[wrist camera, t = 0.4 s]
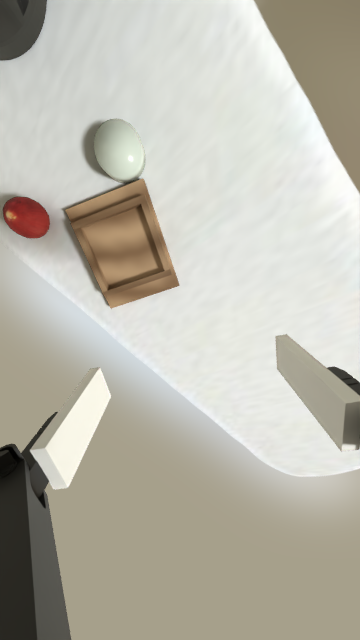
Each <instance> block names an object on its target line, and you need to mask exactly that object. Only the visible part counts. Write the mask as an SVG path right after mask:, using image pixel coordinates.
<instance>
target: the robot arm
mask: <svg viewBox="0 0 360 640" xmlns="http://www.w3.org/2000/svg"><path fill="white" fill-rule="evenodd" d="M46 3H47V0H0V60H9V59H13V58H16V57H19V56H21V55H22V54H24V53H25V52H27V51H28V50H29V49H30V48H31V47H32V45H33V44H34V43H35V41H36V40H37V38H38V36H39V34H40V32H41V29H42V26H43V23H44V19H45V13H46ZM276 356H277V369H278V371H279V372H280V373H281V375H282V376H283V377H284V378H285V380H286V381H287V382H288V384H289V385H290V386H291V387H292V389H293V390H294V391H295V393H296V394H297V395H298V396H299V398H300V399H301V400H302V402H303V403H304V404H305V405H306V407H307V408H308V409H309V411H310V412H311V413H312V414H313V416H314V417H315V418H316V420H317V421H318V422H319V423H320V425H321V426H322V427H323V429H324V430H325V431H326V432H327V434H328V435H329V436H330V438H331V439H332V440H333V441H334V443H335V444H336V445H337V447H338V448H339V449H340V450H341V452H343V451H351V450H358V449H359V448H360V382H359V381H357V380H356V379H355V378H353V377H352V376H351V375H349V374H348V373H347V372H345V371H344V370H341V369H339V368H337V367H328V368H326V367H325V366H324V365H322V364H321V363H320V362H319V361H318V360H316V359H315V358H314V357H313V356H312V355H310V354H309V353H308V352H307V351H306V350H305V349H303V348H302V347H301V346H300V345H299V344H297V343H296V342H295V341H294V340H293V339H291V338H290V337H289V336H288V335H287V334H286V335H280V336H276ZM110 398H111V395H110V392H109V389H108V387H107V384H106V382H105V379H104V376H103V374H102V372H101V369H100V367H99V368H92V369H90V370H89V371H88V373H87V374H86V375H85V377H84V378H83V379H82V381H81V382H80V383H79V385H78V386H77V387H76V389H75V390H74V392H73V393H72V394H71V395H70V397H69V398H68V400H67V401H66V402H65V404H64V405H63V406H62V408H61V409H60V410H59V412H55V413H54V414H53V415H52V416H51V417H50V418H48V419H47V421H46V422H45V423H44V425H43V426H42V428H40V430H39V431H38V432H37V434H36V435H35V436H34V437H33V439H32V440H31V441H30V443H29V444H28V445H27V446H26V448H25V449H24V450H23V452H22V453H20V451H19V450H18V448H17V446H16V445H15V444H9V445H5V446H3V447H1V448H0V640H71V636H70V630H69V624H68V618H67V612H66V606H65V600H64V594H63V588H62V582H61V576H60V570H59V564H58V558H57V552H56V546H55V540H54V534H53V528H52V522H51V515H50V509H49V504H48V498H47V494H46V492H45V490H44V489H45V488H46V486H47V484H48V482H49V483H50V484H51V486H52V488H53V489H54V490H55V489H62V488H68V487H69V485H70V483H71V480H72V478H73V476H74V474H75V472H76V470H77V468H78V465H79V464H80V461H81V459H82V457H83V455H84V453H85V451H86V449H87V446H88V444H89V442H90V440H91V437H92V436H93V434H94V432H95V430H96V427H97V425H98V423H99V421H100V419H101V417H102V415H103V412H104V410H105V408H106V406H107V404H108V402H109V400H110Z"/></svg>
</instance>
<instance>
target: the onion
mask: <svg viewBox="0 0 360 640" xmlns="http://www.w3.org/2000/svg"><path fill="white" fill-rule="evenodd" d="M3 215H4V219H5V222H6V223H7V224H8V226H9V227H10V228H11V229H12V230H13V231H15V232H16V233H17V234H19V235H21V236H24V237H26V238H40V237H42V236H43V235H45V234H46V233H47V231H48V229H49V225H50V220H49V215H48V214H47V212H46V210H45V208H44V207H42V206H41V205H40V204H39V203H38V202H36V201H34V200H32V199H30V198H27V197H14V198H12V199H10V200H8V201H7V202H6V204H5V205H4V207H3Z"/></svg>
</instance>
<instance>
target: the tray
mask: <svg viewBox="0 0 360 640" xmlns="http://www.w3.org/2000/svg"><path fill="white" fill-rule="evenodd" d="M65 211H66V213H67V215H68V217H69V219H70V221H71V223H70V224H71V226H72V228H73V230H74V232H75V234H76V236H77V239H78V241H79V243H80V245H81V247H82V249H83V252H84V254H85V256H86V258H87V260H88V262H89V265H90V267H91V269H92V271H93V273H94V275H95V277H96V280H97V282H98V284H99V286H100V288H101V290H102V293H103V295H104V297H106V299H107V302H108V304H109V306H110V308H114V307H117V306H120V305H123V304H126V303H129V302H132V301H135V300H138V299H141V298H144V297H147V296H150V295H153V294H156V293H159V292H162V291H165V290H168V289H171V288H174V287H177V286H179V282H178V279H177V276H176V273H175V270H174V267H173V265H172V262H171V259H170V256H169V253H168V250H167V247H166V244H165V241H164V238H163V235H162V232H161V229H160V226H159V223H158V220H157V217H156V214H155V211H154V208H153V205H152V202H151V199H150V196H149V193H148V190H147V187H146V184H145V181H144V179H141V180H138V181H136V182H133V183H131V184H128V185H126V186H123V187H121V188H118V189H116V190H113V191H111V192H108V193H106V194H103V195H101V196H98V197H96V198H93V199H91V200H88V201H86V202H83V203H81V204H79V205H76V206H74V207H71V208H69V209H66V210H65Z"/></svg>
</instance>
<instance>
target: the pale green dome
mask: <svg viewBox="0 0 360 640" xmlns="http://www.w3.org/2000/svg"><path fill="white" fill-rule="evenodd" d="M94 152H95V156H96V159H97V161H98V163H99V165H100V166H101V167H102V169H103V170H104V171H105V172H106V173H107V174H108V175H109V176H110V177H111V178H113V179H114V180H116V181H118V182H120V183H130V182H133V181H135V180H136V179H137V178H139V176H140V175H141V174H142V172H143V170H144V167H145V151H144V148H143V146H142V143H141V140H140V138H139V135H138V133H137V132H136V130H135V129H134V128H133V127H132V126H131V125H130V124H129V123H128V122H126V121H124V120H121V119H110V120H107V121H106V122H104V123H103V124H102V125H101V126H100V127H99V128H98V130H97V132H96V135H95V138H94Z"/></svg>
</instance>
